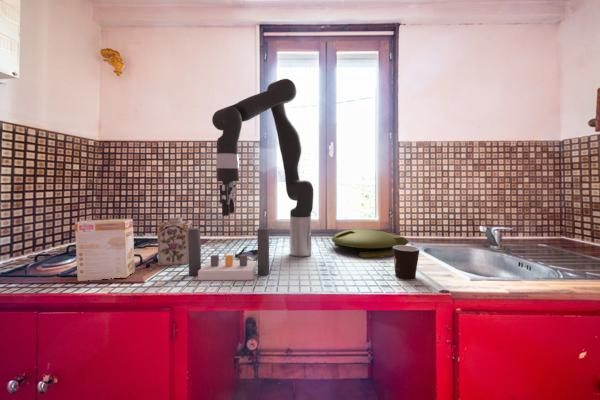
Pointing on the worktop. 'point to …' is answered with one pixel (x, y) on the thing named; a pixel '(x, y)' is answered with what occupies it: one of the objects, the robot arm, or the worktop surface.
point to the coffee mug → (405, 261)
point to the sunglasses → (249, 253)
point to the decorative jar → (173, 242)
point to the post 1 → (194, 251)
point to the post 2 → (263, 251)
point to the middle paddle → (229, 260)
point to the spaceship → (369, 241)
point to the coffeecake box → (104, 249)
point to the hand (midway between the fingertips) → (228, 214)
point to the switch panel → (228, 269)
